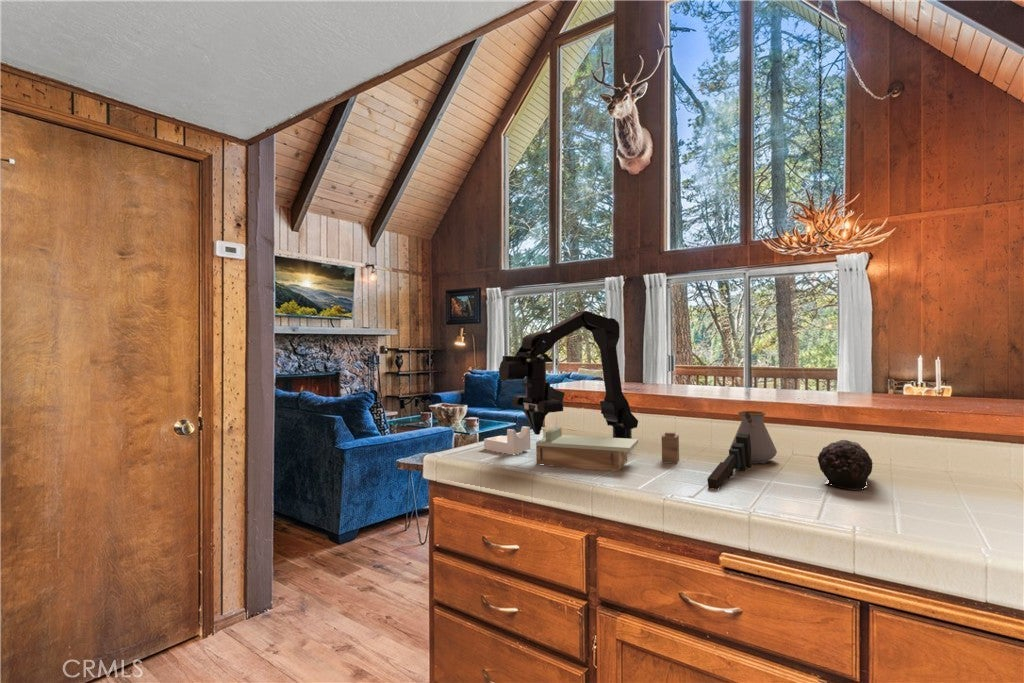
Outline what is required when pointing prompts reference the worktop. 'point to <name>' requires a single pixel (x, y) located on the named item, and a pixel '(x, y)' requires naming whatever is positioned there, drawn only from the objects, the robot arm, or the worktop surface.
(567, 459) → the brown box
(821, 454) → the pine cone
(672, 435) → the brown stepped square block
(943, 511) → the worktop surface
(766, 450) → the coffee pot
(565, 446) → the lid
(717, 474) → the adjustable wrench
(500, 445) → the bracket
